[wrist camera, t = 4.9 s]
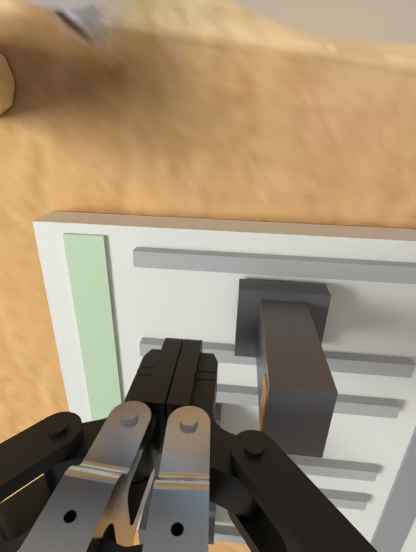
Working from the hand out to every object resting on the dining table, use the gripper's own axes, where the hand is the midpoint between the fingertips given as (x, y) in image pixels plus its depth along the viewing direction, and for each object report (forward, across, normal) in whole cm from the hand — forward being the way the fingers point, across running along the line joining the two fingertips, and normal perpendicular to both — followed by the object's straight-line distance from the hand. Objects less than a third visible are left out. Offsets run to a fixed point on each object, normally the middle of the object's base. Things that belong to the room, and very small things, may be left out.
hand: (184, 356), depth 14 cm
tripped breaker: (+3, -4, 0) cm, 5 cm away
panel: (+6, -4, +8) cm, 11 cm away
